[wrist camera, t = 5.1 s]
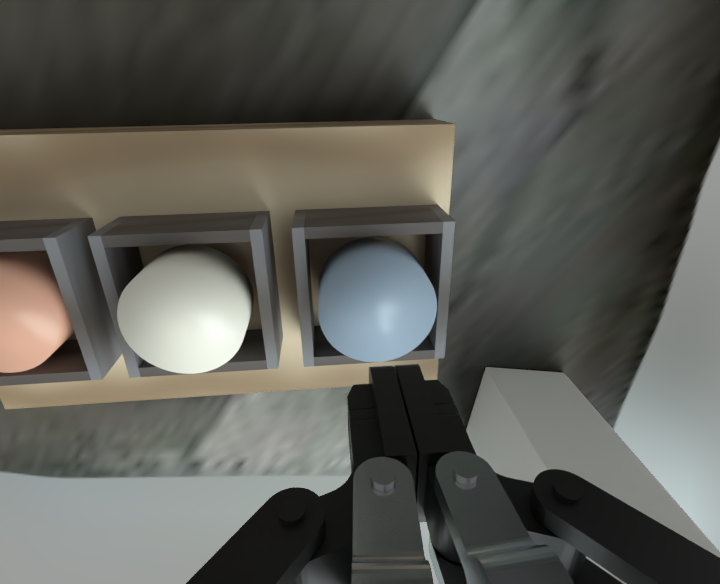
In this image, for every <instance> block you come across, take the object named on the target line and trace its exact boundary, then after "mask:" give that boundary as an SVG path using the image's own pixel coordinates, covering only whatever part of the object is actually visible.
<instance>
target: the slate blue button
mask: <svg viewBox="0 0 720 584" xmlns="http://www.w3.org/2000/svg"><path fill="white" fill-rule="evenodd" d="M436 313H437V299H436V294H435V291H434V288H433V286H432V284H431V282H430V280H429V278H428V277H427V275H426V273H425V272H424V270H423V268H422V266H421V265H420V263H419V261H418V260H417V258H416V257H415V255H414V254H413V253H412V252H411V251H410V250H409V249H408V248H406V247H405V246H404V245H402V244H400V243H399V242H396V241H394V240H391V239H388V238H383V237H365V238H360V239H356V240H354V241H351V242H349V243H347V244H345V245H343V246H342V247H340V248H339V249H338V250H337V251H335V252H334V253H333V254H332V255H331V257H330V258H329V259H328V260H327V262H326V263H325V265H324V267H323V269H322V272H321V275H320V279H319V307H318V316H319V323H320V326H321V329H322V331H323V334H324V335H325V337H326V339H327V340H328V341H329V343H330V344H331V345H332V346H333V347H334V348H335V349H337V350H338V351H339V352H341V353H342V354H344V355H346V356H348V357H350V358H353V359H356V360H360V361H364V362H384V361H389V360H393V359H396V358H399V357H401V356H403V355H405V354H407V353H409V352H410V351H412V350H413V349H415V348H416V347H417V346H418V345H419V344H420V343H421V342H422V341H423V340H424V339H425V338H426V337H427V335H428V334H429V332H430V330H431V329H432V326H433V324H434V321H435V318H436Z"/></svg>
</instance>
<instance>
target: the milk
mask: <svg viewBox="0 0 720 584" xmlns="http://www.w3.org/2000/svg"><path fill="white" fill-rule="evenodd" d="M466 432H467V434H468V436H469V439H470V441H471V443H472V446H473V448H474V450H475V453H476V455H477V456H479V457H481V458H483V459H484V460H485V461H486V462H488V464H489V465H490V466H491V467H492V469H493V470H494V472H495V473H497V474H499V475H502V476H505V477H509V478H513V479H518V480H523V481H528V482H533V483H534V480H535V478H536V476H537V475H538V474H539V473H541V472H543V471H545V470H550V469H559V470H565V471H568V472H571V473H574V474H576V475H578V476H580V477H581V478H583V479H585V480H586V481H588V482H590V483H592V484H593V485H595V486H597V487H599V488H600V489H602V490H604V491H606V492H607V493H609V494H611V495H612V496H614V497H616V498H618V499H619V500H621V501H623V502H625V503H626V504H628V505H630V506H631V507H633V508H635V509H637V510H638V511H640V512H642V513H644V514H645V515H647V516H649V517H650V518H652V519H654V520H656V521H657V522H659V523H661V524H663V525H664V526H666V527H668V528H669V529H671V530H673V531H675V532H676V533H678V534H680V535H682V536H683V537H685V538H687V539H688V540H690V541H692V542H694V543H695V544H697V545H699V546H701V547H702V548H704V549H706V550H707V551H709V552H711V553H713V554H714V555H716V556H718V557H720V552H719V551H718V550H717V548H716V547H715V546H714V545H713V544H712V543H711V541H710V540H708V538H707V537H706V536H705V535H704V533H703V532H702V531H701V530H700V529H699V528H698V527H697V526H696V524H695V523H694V522H693V521H692V520H691V518H690V517H689V516H688V515H687V514H686V513H685V512H684V510H683V509H682V508H681V507H680V506H679V505H678V504H677V502H676V501H675V500H674V499H673V498H672V497H671V495H670V494H669V493H668V492H667V491H666V490H665V489H664V487H663V486H662V485H661V484H660V483H659V482H658V481H657V479H656V478H655V477H654V476H653V475H652V474H651V472H650V471H649V470H648V469H647V468H646V467H645V466H644V465H643V463H642V462H641V461H640V460H639V459H638V458H637V456H636V455H635V454H634V453H633V452H632V451H631V449H629V447H628V446H627V445H626V444H625V443H624V441H622V439H621V438H620V437H619V436H618V435H617V433H616V432H615V431H614V430H613V429H612V428H611V426H610V425H609V424H608V423H607V422H606V421H605V420H604V418H603V417H602V416H601V415H600V414H599V413H598V412H597V410H596V409H595V408H594V407H593V406H592V405H591V403H590V402H589V401H588V400H587V399H586V398H585V397H584V395H583V394H582V393H581V392H580V391H579V390H578V389H577V387H576V386H575V385H574V384H573V383H572V382H571V380H570V379H569V378H568V377H567V376H566V375H565V374H564V373H562V372H549V371H535V370H522V369H508V368H494V367H486V368H485V371H484V374H483V378H482V381H481V384H480V387H479V390H478V394H477V397H476V400H475V403H474V406H473V410H472V413H471V416H470V419H469V422H468V426H467V429H466ZM586 558H587V559H588V560H590V561H591V562H593V563H594V564H596V565H597V566H598V567H600V568H601V569H603V570H604V571H606V572H607V573H608V574H610V575H611V576H613V577H614V578H616V579H617V580H619V581H620V582H621V583H623V584H626V583H625V582H623V581H622V580H620V579H619V578H617V577H616V576H615V575H613V574H612V573H610V572H609V571H607V570H606V569H604V568H603V567H602V566H600V565H599V564H597V563H596V562H594V561H593V560H592V559H590V558H589V557H587V556H586Z"/></svg>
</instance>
